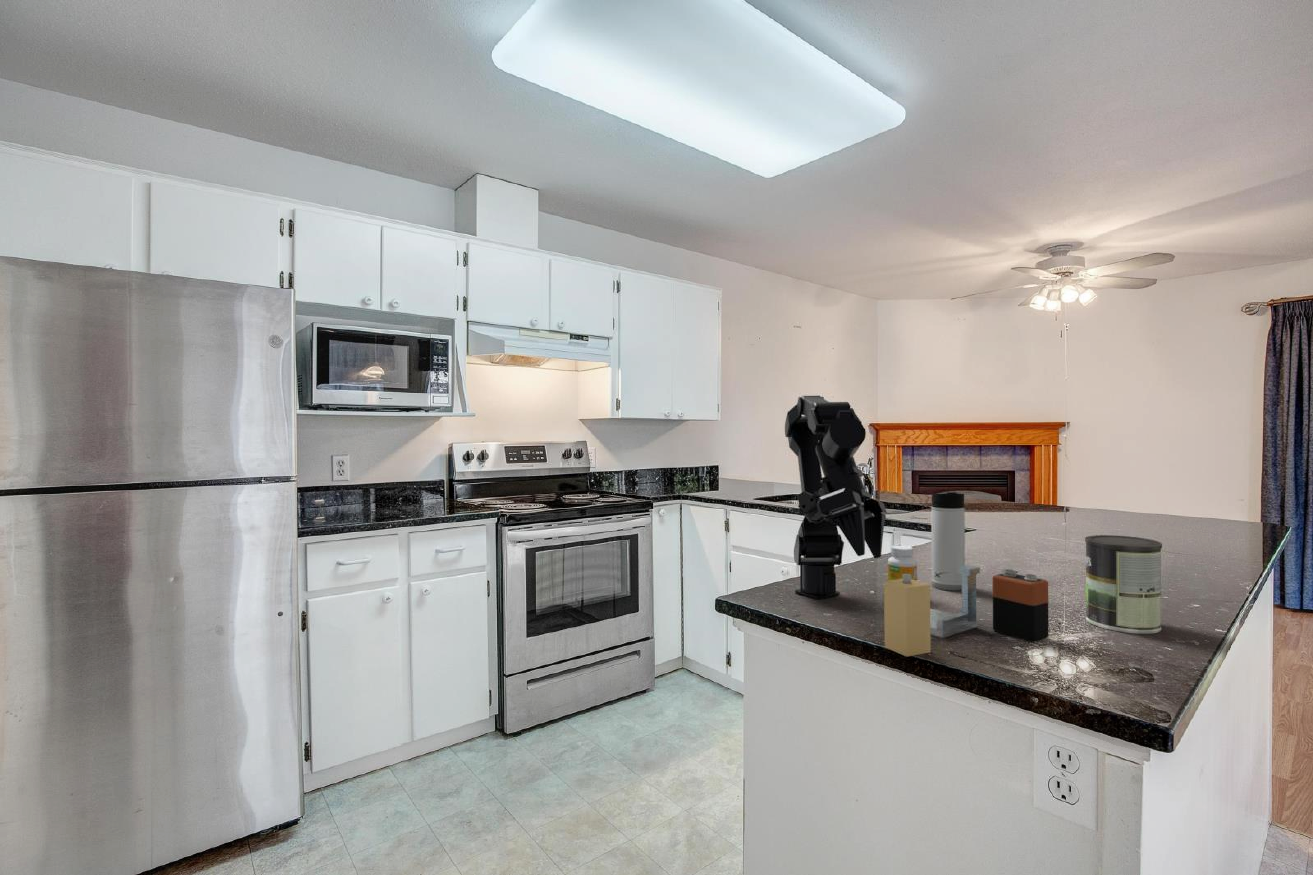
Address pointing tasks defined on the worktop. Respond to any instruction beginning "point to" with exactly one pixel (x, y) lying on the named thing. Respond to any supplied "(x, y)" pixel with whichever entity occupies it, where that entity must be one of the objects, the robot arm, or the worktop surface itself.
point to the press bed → (954, 624)
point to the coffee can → (1123, 583)
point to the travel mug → (948, 540)
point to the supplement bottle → (901, 563)
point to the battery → (1020, 605)
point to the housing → (907, 616)
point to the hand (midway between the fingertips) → (869, 556)
